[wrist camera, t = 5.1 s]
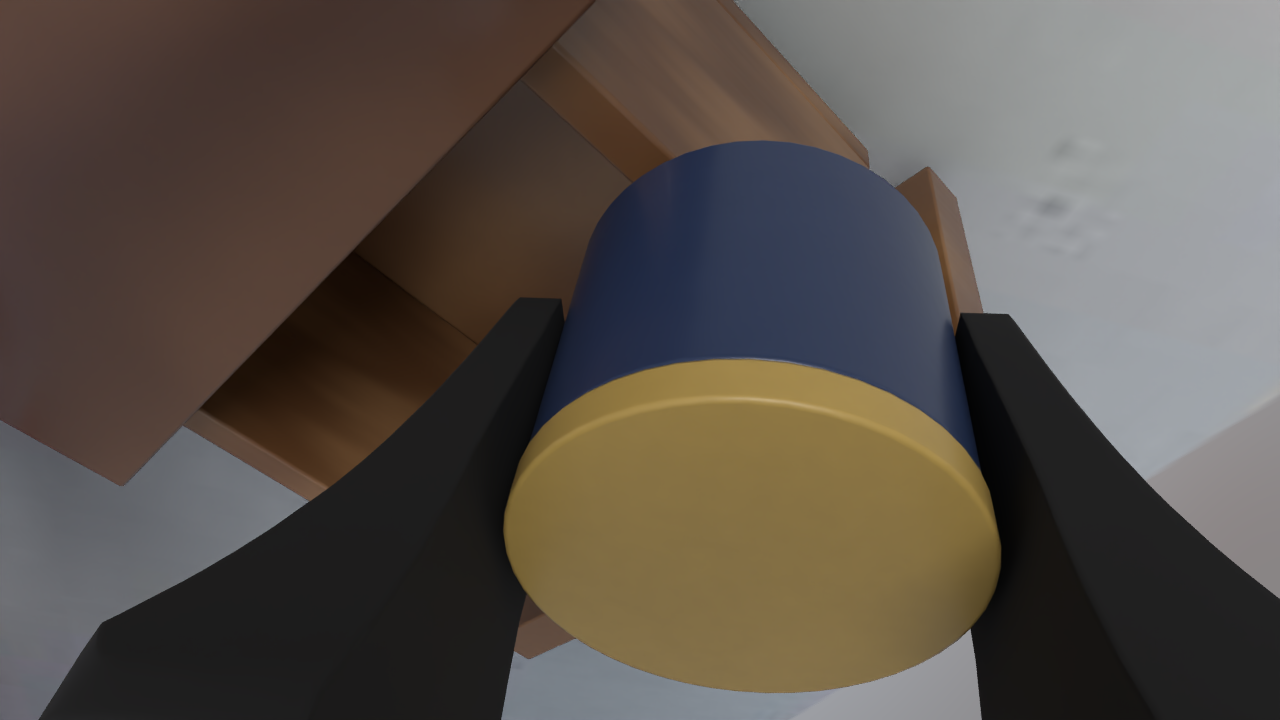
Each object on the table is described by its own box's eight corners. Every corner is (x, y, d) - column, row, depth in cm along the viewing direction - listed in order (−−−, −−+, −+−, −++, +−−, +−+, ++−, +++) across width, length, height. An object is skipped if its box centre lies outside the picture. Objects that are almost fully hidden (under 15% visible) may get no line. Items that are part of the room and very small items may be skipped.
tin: (915, 430, 15) (951, 713, 12) (596, 413, 16) (536, 674, 12) (979, 136, 12) (1062, 414, 8) (560, 131, 12) (459, 385, 9)
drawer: (1057, 313, 23) (1141, 569, 17) (680, 508, 30) (652, 733, 25) (475, -358, 15) (283, -294, 10) (160, 123, 23) (-56, 321, 17)
